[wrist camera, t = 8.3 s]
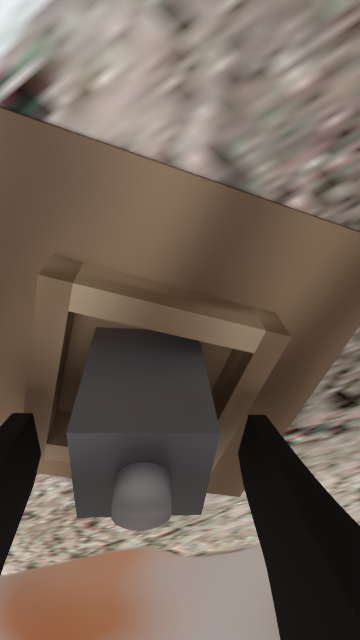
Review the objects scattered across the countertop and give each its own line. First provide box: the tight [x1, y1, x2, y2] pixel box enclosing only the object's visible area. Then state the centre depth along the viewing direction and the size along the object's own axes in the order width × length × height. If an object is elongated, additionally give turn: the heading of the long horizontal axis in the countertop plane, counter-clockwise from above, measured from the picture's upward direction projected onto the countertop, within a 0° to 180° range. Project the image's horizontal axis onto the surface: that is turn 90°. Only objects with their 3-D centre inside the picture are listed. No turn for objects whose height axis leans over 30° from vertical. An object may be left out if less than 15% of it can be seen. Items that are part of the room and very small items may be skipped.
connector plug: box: [66, 327, 221, 530], centre depth 11 cm, size 4×4×6 cm
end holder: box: [0, 107, 360, 497], centre depth 13 cm, size 16×16×2 cm
